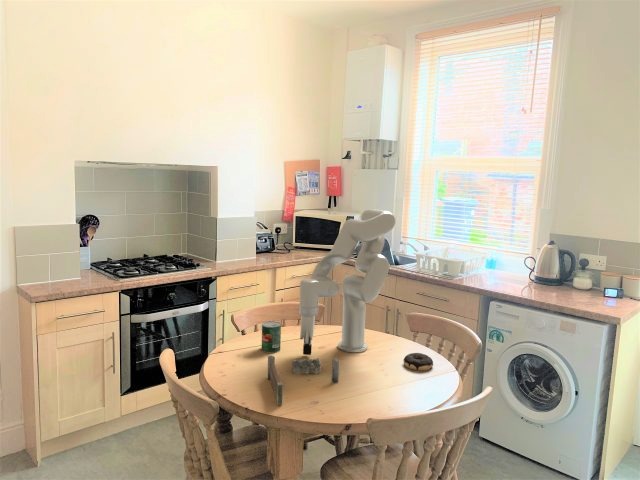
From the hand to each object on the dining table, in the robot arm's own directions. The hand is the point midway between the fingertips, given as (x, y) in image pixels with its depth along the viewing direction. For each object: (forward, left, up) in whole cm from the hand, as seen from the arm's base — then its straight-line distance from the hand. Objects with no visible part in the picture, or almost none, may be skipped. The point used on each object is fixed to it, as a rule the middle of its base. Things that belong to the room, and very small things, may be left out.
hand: (307, 354), depth 206 cm
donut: (+4, +44, -1) cm, 44 cm away
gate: (+34, -8, 0) cm, 35 cm away
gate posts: (+23, 0, -1) cm, 23 cm away
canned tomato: (-6, -15, -1) cm, 16 cm away
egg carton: (+14, +1, -1) cm, 14 cm away
